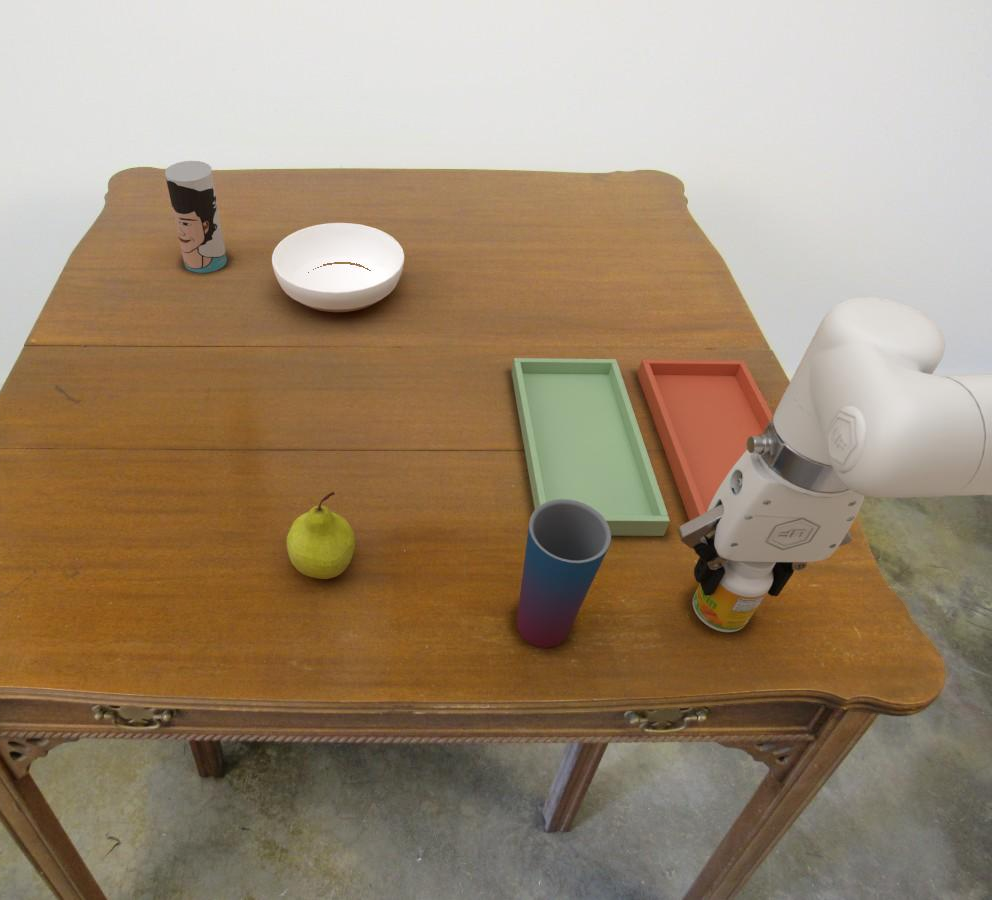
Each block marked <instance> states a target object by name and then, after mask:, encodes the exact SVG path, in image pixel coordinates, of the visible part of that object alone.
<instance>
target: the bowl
mask: <svg viewBox="0 0 992 900" xmlns="http://www.w3.org/2000/svg"><path fill="white" fill-rule="evenodd" d="M334 262H351V263H355V264H356V263H357V264H360V265H362V266H364V267H365V268H368V269H369V270H371V271H369V270H367V269H365V268H363V267H359V266H356V265H350V264H332V265H326V266H323V264H327V263H334ZM404 263H405V253H404V248H403V247H402V245H401V244H400V243H399V242H398V241H397V239H396V238H394V237H393V236H392V235H390V234H389V233H386V232H385V231H383V230H380V229H378V228H375V227H372V226H368V225H364V224H359V223H353V222H352V223H350V222H328V223H322V224H316V225H312V226H311V225H310V226H308V227H304V228H302V229H299V230H296V231H294V232H292V233H290V234H289V235H287V236H286V237H285V238H283V239H282V240H281V241H280V242H279V243H278V244H277V245H276V246H275V248H274V249H273V251H272V254H271V265H272V269H273V273H274V276H275V278H276V280H277V282H278V285H279V286H280V287H281V289H282V290H283V291H284V293H285V294H286V295H287V296H289V298H291V299H292V300H294V301H296V302H298V303H300V304H302V305H304V306H306V307H307V308H310V309H314V310H317V311H322V312H327V313H348V312H355V311H359V310H362V309H366V308H368V307H370V306H372V305H375V304H376V303H378V302H379V301H381V300H383V299H384V298H386V297H387V296H389V295H390V294H391V293H392V292H393V291H394V289H396V287H397V285H398V283H399V282H400V279H401V277H402V274H403V269H404ZM320 266H322V267H320ZM317 267H319V268H317ZM315 268H316V269H315ZM313 269H314V270H313ZM308 272H309V273H308Z"/></svg>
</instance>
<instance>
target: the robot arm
mask: <svg viewBox="0 0 992 900" xmlns="http://www.w3.org/2000/svg"><path fill="white" fill-rule="evenodd" d="M945 347H946V343H945V337H944V334H943V332H942V330H941V329H940V326H938V324H936V322H935V321H934V320H933V319H932V318H931V317H929V316H928V315H927V314H925V313H924V312H922V311H921V310H918V309H917V308H915V307H913V306H910V305H908V304H907V303H903V302H901V301H898V300H894V299H890V298H886V297H885V298H884V297H878V296H860V297H854V298H853V297H852V298H849V299H846V300H844V301H842V302H840V303H838V304H836V305H834V306H833V307H832V308H831V309H830V310H829V311H828V312H827V313H826V314H825V315H824V317H823V319H822V320H821V322H820V323H819V325H818V327H817V329H816V331H815V333H814V335H813V337H812V339H811V340H810V343H809V345H808V347H807V349H806V350H805V353H804V354H803V355H802V356H803V357H802V358H801V361H800V362H799V364H798V366H797V368H796V370H795V372H794V374H793V376H792V377H791V380H790V382H789V383H788V385H787V387H786V389H785V391H784V393H783V395H782V397H781V399H780V401H779V403H778V404H777V407H776V409H775V411H774V412H773V414H772V415H773V417H772V419H771V421H770V422H769V423H768V425H767V427H766V429H765V431H764V433H763V434H760V435H758V436H750V437H749V438H748V440H747V451H746V452H745V453H744V454H743V455H742V456H741V457H740V459H739V460H738V461H737V462H736V464H735V465H734V466H733V468H732V469H731V470H730V472H729V473H728V475H727V476H726V478H725V479H724V481H723V482H722V484H721V485H720V487H719V489H718V490H717V492H716V494H715V496H714V498H713V499H712V501H711V503H710V505H709V508H708V510H707V512H706V513H704V514H702V515H700V516H698V517H696V518H694V519H692V520H691V521H689V520H688V521H687V522H685V523H683V524H682V525H679V526H678V527H677V532H678V535H679V538H680V541H681V543H683V544H684V545H686V546H687V547H688V548H690V549H692V550H694V552H695V554H696V555H697V556H698V557H699V558H698V560H697V562H696V563H695V566H694V569H693V576H694V579H695V581H696V582H697V583H699V585H700V584H701V587H702V590H703V593H704V595H712V594H713V593H714V592H715V590H716V588H717V586H718V585H719V583H720V581H721V579H722V578H723V576H724V574H725V569H724V566H723V565H724V564H726V563H727V562H728V561H729V560H732V561H745V562H776V564H775V565H774V567H773V569H772V571H773V583H772V585H771V587H770V589H769V591H768V592H767V595H768V596H769V595H770V597H778V596H779V595H780V593H781V592H782V591H783V589H784V587H786V585H787V583H788V582H789V580H790V578H792V576H793V574H794V572H796V571H797V572H798V571H802V570H805V569H806V568H807V565H808V563H815V562H822V561H824V560H828V558H830V557H831V556H832V555H834V553H835V552H836V551H837V549H838V548H839V547H842V546H845V545H847V544H850V543H851V542H852V541H853V538H852V536H851V534H850V532H849V531H850V530H851V527H852V525H853V524H854V522H855V520H856V518H857V516H858V514H859V512H860V509H861V508H862V505H863V502H864V500H865V498H866V497H869V498H874V499H908V498H909V499H913V498H917V499H918V498H942V497H957V496H958V497H960V496H961V497H962V496H965V497H966V496H992V374H961V375H960V374H957V375H956V374H953V375H952V374H951V375H936V374H934V373H935V371H936V370H937V368H938V366H939V365H940V363H941V362H942V359H943V356H944V353H945V349H946V348H945ZM708 533H709V534H708ZM707 534H708V535H707ZM706 535H707V536H706Z"/></svg>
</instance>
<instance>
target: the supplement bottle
mask: <svg viewBox="0 0 992 900" xmlns="http://www.w3.org/2000/svg"><path fill="white" fill-rule="evenodd" d="M775 564H776V562H745V561H732V560H729V561H728V562H727V563H726V564H724V565H723V566H724V569H725V574H724V576H723V578H722V579H721V581H720V583H719V585H718V586H717V588H716V590H715V592H714V593H713V594H712V595H704V593H703V590H702V587H701V584H700V583H699V585H698V587H697V589H696V591H695V592H694V593H693V594H694V595H693V598H692V608H693V611H694V613H695V615H696V616H697V617H698V619H699V620H700V621H701V622H702V623H703V624H705V625H706V626H707V627H709V628H710V629H713V630H715V631H717V632H721V633H734V632H738V631H740V630H742V629H743V628H745V626H747V624H748V622H749V621H750V620H751V618H752V616H753V615H754V613H755V612H756V611H757V609H758V607H759V606H760V605H761V603H762V601H763V600H764V599H765V597H766V595H768V591H769V589H770V587H771V585H772V583H773V571H772V569H773V567H774V565H775Z"/></svg>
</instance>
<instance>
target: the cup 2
mask: <svg viewBox="0 0 992 900" xmlns="http://www.w3.org/2000/svg"><path fill="white" fill-rule="evenodd" d="M611 542H612V536H611V532H610V528H609V525H608V523H607V522H606V520H605V519H604V517H603V516H602V515H601V514H600V513H599V512H598V511H596V510H595V509H593V508H592V507H590V506H588V505H586V504H584V503H582V502H579V501H575V500H569V499H558V500H552V501H548V502H546V503H544V504H542V505H540V506H539V507H538V508H537V509H536V510H535V509H534V511H533V512H532V513H531V515H530V518H529V521H528V529H527V537H526V543H525V544H526V545H525V553H524V560H523V568H522V576H521V584H520V592H519V599H518V608H517V615H516V627H517V628H516V629H517V631H518V633H519V635H520V636H521V637H522V638H523V640H525V641H526V642H527V643H529V644H530V645H532V646H535V647H537V648H541V649H549V648H550V649H551V648H555V647H557V646H559V645H561V644H562V643H563V642H564V641H565V639H566V638H567V637H568V635H569V632H570V630H571V628H572V626H573V624H574V622H575V620H576V617H577V615H578V613H579V611H580V609H581V608H582V605H583V604H584V603H583V602H584V600H585V598H586V596H587V594H588V592H589V590H590V588H591V586H592V585H593V581H594V579H595V577H596V575H597V573H598V572H599V569H600V567H601V565H602V563H603V560H604V559H605V556H606V554H607V552H608V550H609V549H610V545H611Z"/></svg>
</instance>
